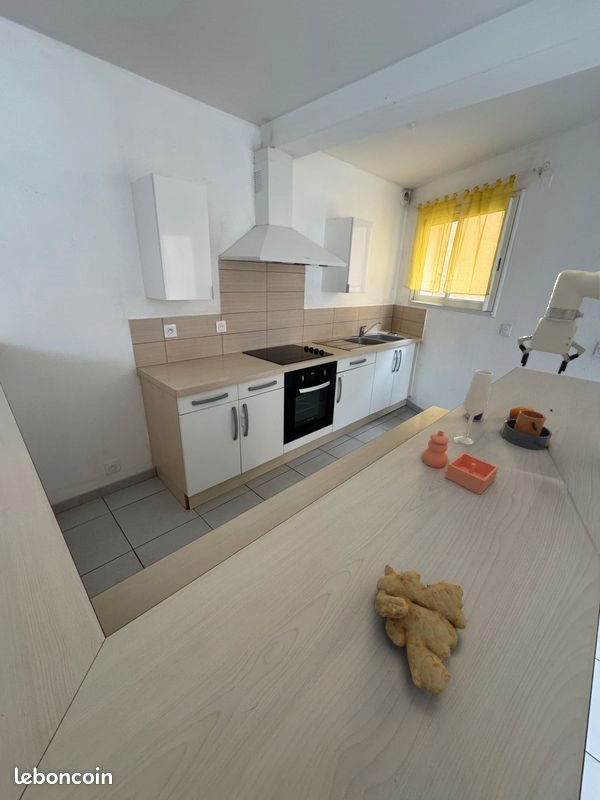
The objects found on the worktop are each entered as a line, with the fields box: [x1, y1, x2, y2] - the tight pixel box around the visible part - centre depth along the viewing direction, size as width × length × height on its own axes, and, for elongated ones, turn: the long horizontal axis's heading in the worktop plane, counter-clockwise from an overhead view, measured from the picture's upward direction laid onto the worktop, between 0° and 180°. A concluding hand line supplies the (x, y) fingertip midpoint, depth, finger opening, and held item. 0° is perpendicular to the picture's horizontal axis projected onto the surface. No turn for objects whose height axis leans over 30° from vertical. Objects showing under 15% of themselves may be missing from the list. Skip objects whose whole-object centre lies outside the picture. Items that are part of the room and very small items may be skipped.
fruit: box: [508, 405, 535, 419], centre depth 119 cm, size 8×8×8 cm
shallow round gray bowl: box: [500, 418, 553, 451], centre depth 107 cm, size 13×13×5 cm
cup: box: [514, 409, 547, 437], centre depth 104 cm, size 7×12×9 cm, turn 155°
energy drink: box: [465, 411, 485, 423], centre depth 119 cm, size 5×5×12 cm
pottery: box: [422, 430, 499, 495], centre depth 88 cm, size 18×10×10 cm, turn 42°
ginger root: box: [374, 564, 467, 695], centre depth 49 cm, size 16×16×8 cm
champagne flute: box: [453, 369, 494, 445], centre depth 101 cm, size 7×7×24 cm
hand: (540, 369), depth 103 cm, fingers open, 9 cm apart
